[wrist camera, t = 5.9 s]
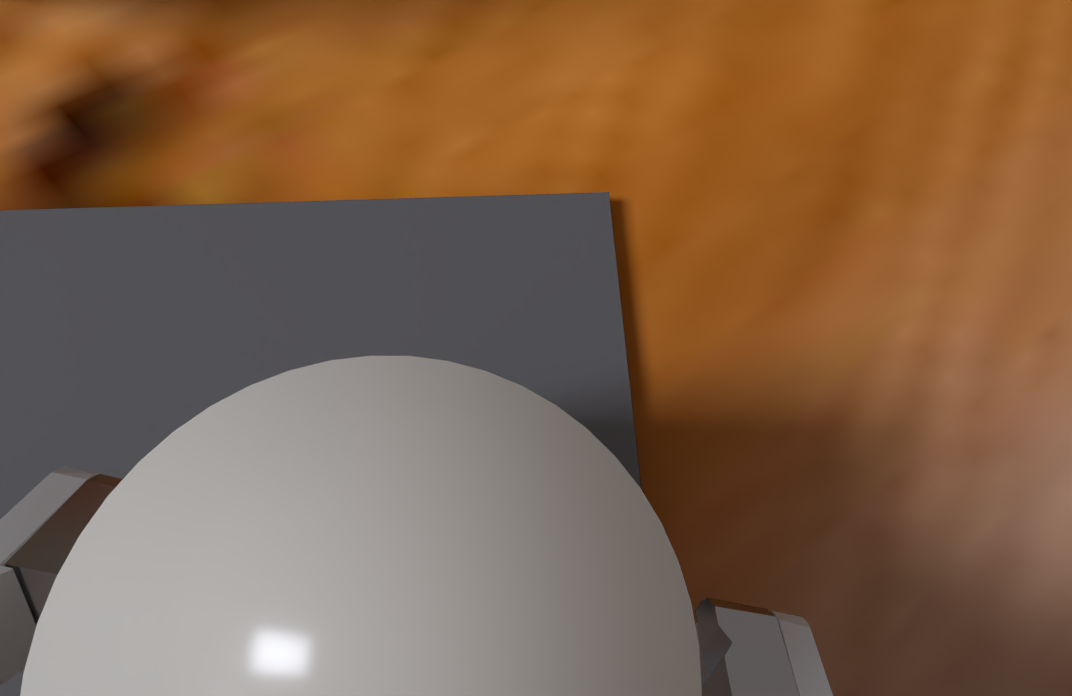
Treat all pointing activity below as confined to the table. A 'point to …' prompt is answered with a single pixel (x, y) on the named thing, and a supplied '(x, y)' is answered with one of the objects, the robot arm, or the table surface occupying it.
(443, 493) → the cream tumbler
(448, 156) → the table surface
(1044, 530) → the table surface
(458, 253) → the charcoal mat
